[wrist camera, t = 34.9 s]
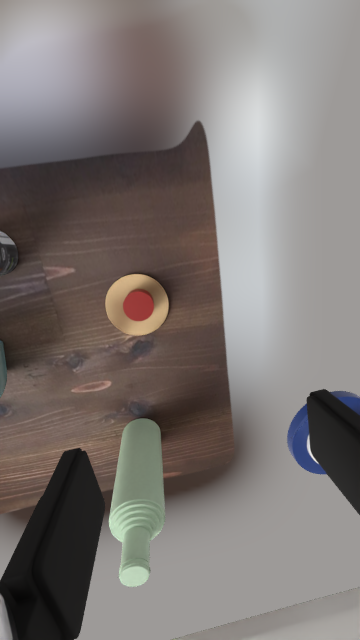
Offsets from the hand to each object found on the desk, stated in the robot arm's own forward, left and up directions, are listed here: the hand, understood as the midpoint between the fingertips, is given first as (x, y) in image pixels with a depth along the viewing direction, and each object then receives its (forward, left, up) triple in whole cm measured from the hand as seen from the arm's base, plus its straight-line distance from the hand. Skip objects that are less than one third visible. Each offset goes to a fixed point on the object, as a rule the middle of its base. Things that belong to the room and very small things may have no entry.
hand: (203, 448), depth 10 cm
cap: (+4, +1, -27) cm, 27 cm away
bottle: (-9, +20, -27) cm, 35 cm away
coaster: (+4, +2, -27) cm, 27 cm away
